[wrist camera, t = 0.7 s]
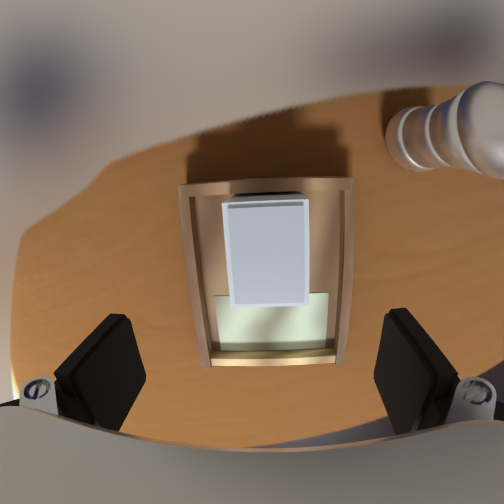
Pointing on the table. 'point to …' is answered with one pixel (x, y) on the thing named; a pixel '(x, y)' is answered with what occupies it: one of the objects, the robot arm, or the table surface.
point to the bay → (271, 318)
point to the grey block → (267, 248)
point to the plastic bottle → (452, 133)
